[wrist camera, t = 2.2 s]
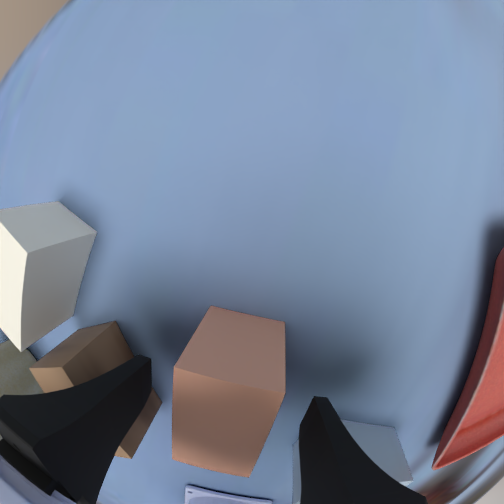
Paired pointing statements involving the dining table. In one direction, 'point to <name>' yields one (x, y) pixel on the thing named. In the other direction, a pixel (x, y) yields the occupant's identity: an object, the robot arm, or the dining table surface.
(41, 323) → the cream brick
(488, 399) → the plant saucer
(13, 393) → the flower pot
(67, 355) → the walnut brick
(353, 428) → the slate-blue brick
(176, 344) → the dining table surface
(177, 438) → the terracotta brick
